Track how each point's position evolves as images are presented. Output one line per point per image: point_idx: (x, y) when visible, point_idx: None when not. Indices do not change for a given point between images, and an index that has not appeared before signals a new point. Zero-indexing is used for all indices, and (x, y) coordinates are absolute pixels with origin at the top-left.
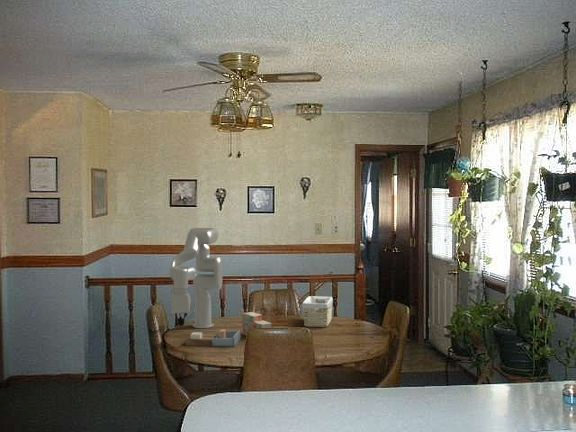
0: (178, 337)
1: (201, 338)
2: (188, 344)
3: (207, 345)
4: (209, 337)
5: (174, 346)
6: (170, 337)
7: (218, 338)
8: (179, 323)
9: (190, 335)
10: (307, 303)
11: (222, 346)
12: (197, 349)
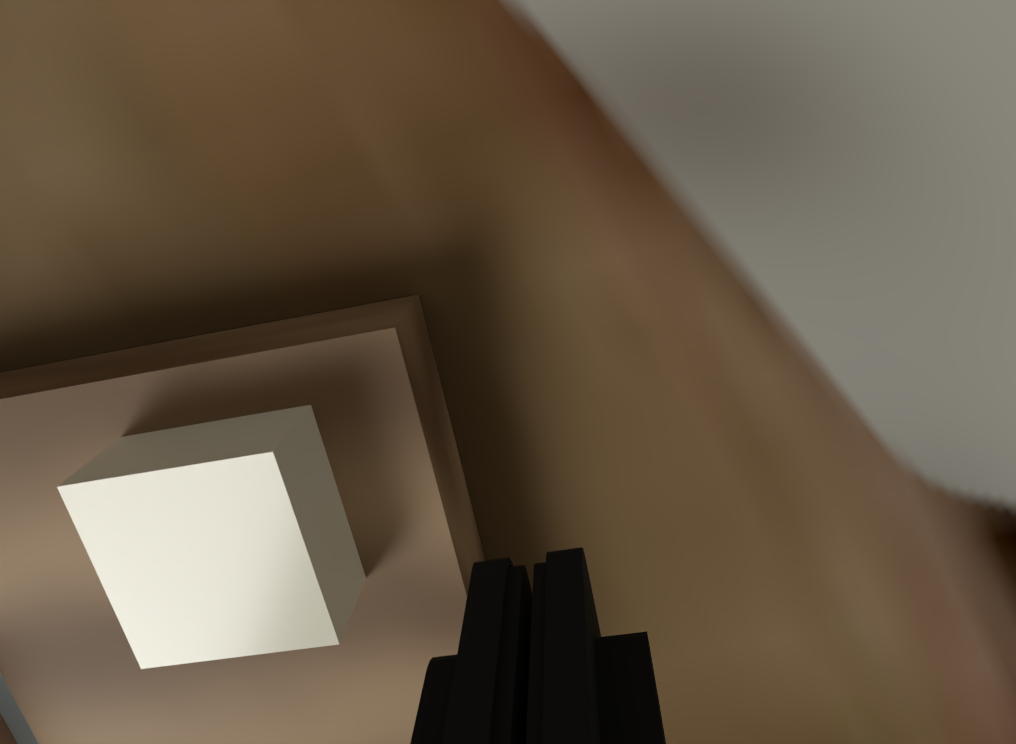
0: (804, 734)
1: None
2: (354, 310)
3: (14, 370)
4: (38, 594)
5: (594, 153)
6: (950, 711)
7: None
8: (568, 604)
9: None
10: None
11: None
12: (10, 62)
